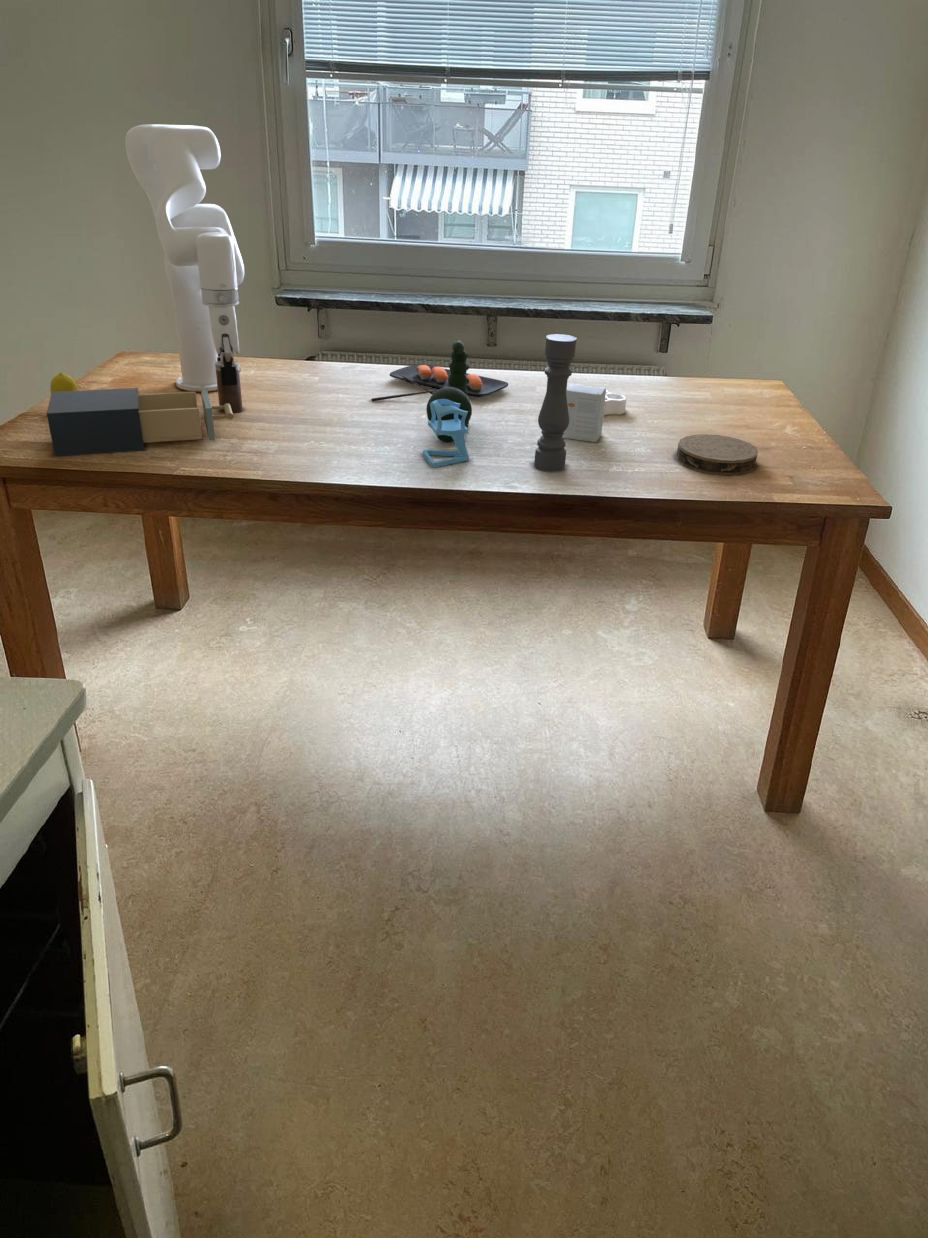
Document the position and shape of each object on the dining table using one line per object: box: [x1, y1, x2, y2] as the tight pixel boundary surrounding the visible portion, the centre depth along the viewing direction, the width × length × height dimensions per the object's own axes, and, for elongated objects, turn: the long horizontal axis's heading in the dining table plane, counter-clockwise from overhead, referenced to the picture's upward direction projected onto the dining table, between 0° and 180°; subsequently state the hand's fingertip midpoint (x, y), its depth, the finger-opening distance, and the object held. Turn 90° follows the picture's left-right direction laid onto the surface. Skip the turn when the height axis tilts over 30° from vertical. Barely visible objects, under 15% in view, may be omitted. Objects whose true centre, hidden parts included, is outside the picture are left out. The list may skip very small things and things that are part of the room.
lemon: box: [49, 372, 79, 394], centre depth 195 cm, size 6×6×8 cm
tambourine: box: [676, 433, 759, 476], centre depth 183 cm, size 16×16×3 cm
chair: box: [422, 399, 470, 468], centre depth 176 cm, size 8×8×12 cm
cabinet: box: [46, 387, 145, 457], centre depth 178 cm, size 16×14×8 cm
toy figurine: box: [426, 340, 473, 444], centre depth 189 cm, size 9×19×25 cm
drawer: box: [138, 389, 235, 444], centre depth 183 cm, size 20×13×7 cm
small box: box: [562, 383, 607, 443], centre depth 192 cm, size 8×6×10 cm
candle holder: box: [533, 333, 577, 472], centre depth 172 cm, size 6×6×25 cm
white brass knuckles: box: [603, 388, 627, 416], centre depth 212 cm, size 3×18×15 cm
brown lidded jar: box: [215, 360, 244, 414], centre depth 198 cm, size 5×5×10 cm
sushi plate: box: [370, 363, 509, 402], centre depth 217 cm, size 29×30×4 cm
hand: (227, 379), depth 197 cm, fingers open, 7 cm apart
